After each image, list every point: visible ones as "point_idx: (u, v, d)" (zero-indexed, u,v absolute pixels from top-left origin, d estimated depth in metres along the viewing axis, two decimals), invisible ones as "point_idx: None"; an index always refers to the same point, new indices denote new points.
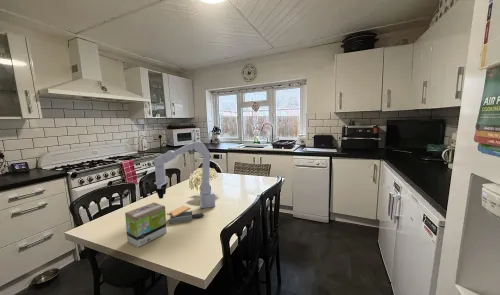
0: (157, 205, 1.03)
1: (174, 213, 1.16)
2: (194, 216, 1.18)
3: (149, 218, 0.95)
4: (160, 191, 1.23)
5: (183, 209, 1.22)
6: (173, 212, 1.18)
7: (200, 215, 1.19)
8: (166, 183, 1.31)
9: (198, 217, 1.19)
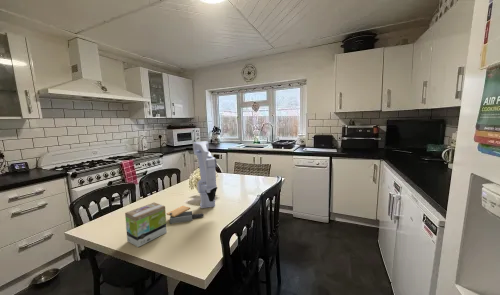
0: (157, 205, 1.03)
1: (174, 213, 1.16)
2: (194, 216, 1.18)
3: (149, 218, 0.95)
4: (210, 194, 1.18)
5: (183, 209, 1.22)
6: (173, 212, 1.18)
7: (200, 215, 1.19)
8: (216, 188, 1.21)
9: (198, 217, 1.19)
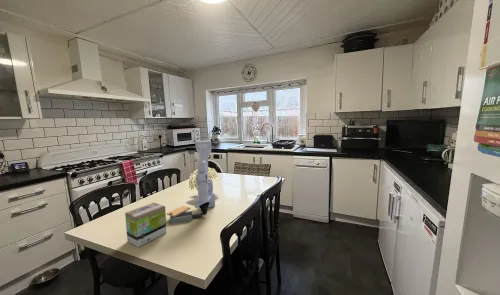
0: (157, 205, 1.03)
1: (174, 213, 1.16)
2: (193, 216, 1.18)
3: (149, 218, 0.95)
4: (203, 207, 1.19)
5: (183, 209, 1.22)
6: (173, 212, 1.18)
7: (199, 215, 1.19)
8: (207, 203, 1.19)
9: (197, 217, 1.19)
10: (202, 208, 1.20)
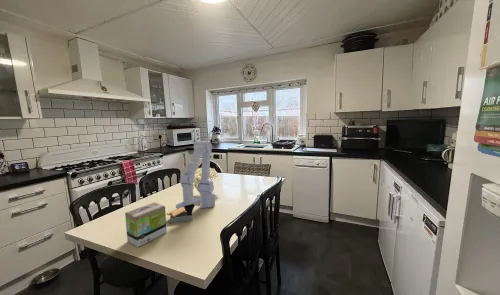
0: (157, 205, 1.03)
1: (174, 213, 1.16)
2: None
3: (149, 218, 0.95)
4: None
5: (183, 209, 1.22)
6: (173, 212, 1.18)
7: None
8: (190, 206, 1.16)
9: None
10: None
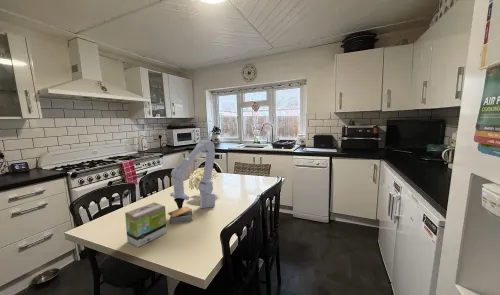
0: (157, 205, 1.03)
1: (174, 213, 1.16)
2: None
3: (149, 218, 0.95)
4: (180, 202, 1.23)
5: (184, 210, 1.20)
6: (174, 212, 1.18)
7: None
8: None
9: None
10: (179, 203, 1.23)
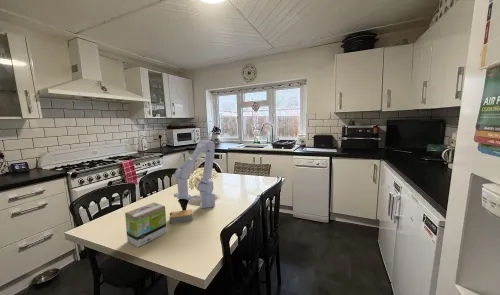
0: (157, 205, 1.03)
1: (173, 214, 1.15)
2: None
3: (149, 218, 0.95)
4: (184, 203, 1.21)
5: (185, 213, 1.16)
6: (175, 213, 1.17)
7: None
8: None
9: None
10: (184, 204, 1.20)
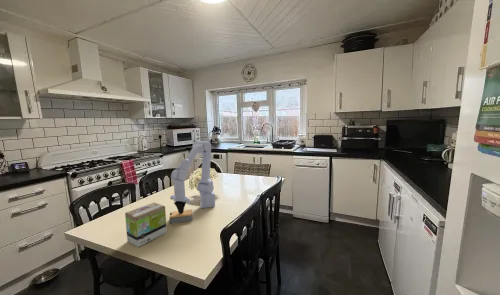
0: (157, 205, 1.03)
1: (173, 214, 1.15)
2: None
3: (149, 219, 0.95)
4: (181, 205, 1.16)
5: (185, 213, 1.16)
6: (175, 213, 1.17)
7: None
8: None
9: None
10: (181, 206, 1.16)
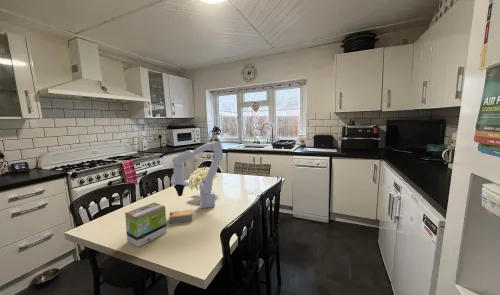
0: (157, 205, 1.03)
1: (173, 214, 1.15)
2: None
3: (149, 218, 0.95)
4: (180, 188, 1.28)
5: (185, 213, 1.16)
6: (175, 213, 1.17)
7: None
8: None
9: None
10: (180, 189, 1.27)
